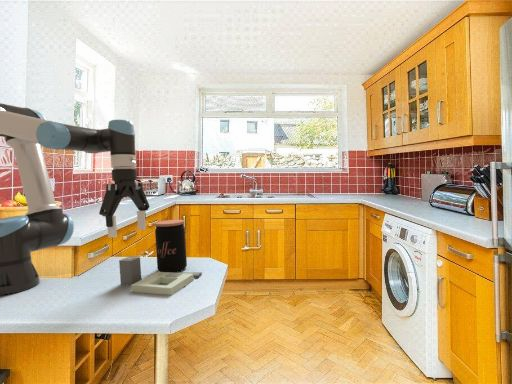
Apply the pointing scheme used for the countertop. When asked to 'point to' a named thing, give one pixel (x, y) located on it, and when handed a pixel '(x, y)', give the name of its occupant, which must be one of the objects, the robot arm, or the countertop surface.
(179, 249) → the coffee jar
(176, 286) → the outlet plate
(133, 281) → the block
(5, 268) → the robot arm
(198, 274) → the phone
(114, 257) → the countertop surface
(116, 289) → the countertop surface
